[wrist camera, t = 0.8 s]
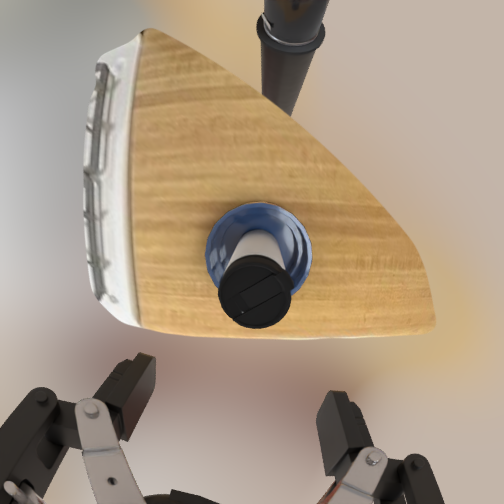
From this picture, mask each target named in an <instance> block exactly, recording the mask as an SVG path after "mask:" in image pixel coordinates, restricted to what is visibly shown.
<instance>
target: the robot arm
mask: <svg viewBox="0 0 504 504" xmlns="http://www.w3.org/2000/svg"><path fill="white" fill-rule="evenodd" d="M328 3H329V0H264V15H263V13H262V18H263V19H264V30H265V32H266V34H267V35H268V36H269V37H270V38H271V39H272V40H274V41H275V42H277V43H279V44H282V45H286V46H294V47H296V46H304V45H307V44H309V43H311V42H313V41H314V40H315V39H316V37H317V35H318V33H319V28H320V25H321V23H322V20H323V17H324V14H325V11H326V8H327V6H328ZM155 374H156V358H155V357H153V356H150V355H147V354H144V353H141V352H140V353H138V354H137V356H136V357H135V359H134V360H133V361H131V360H128V359H126V360H124V361H122V362H120V363H118V365H117V366H116V367H115V369H114V370H113V372H111V374H110V375H109V377H108V378H107V379H106V380H105V381H104V383H103V384H102V385H101V387H100V388H99V389H98V391H97V392H96V393H95V395H94V396H93V397H92V398H86V399H83V400H80V401H79V402H78V403H71V402H66V401H61V400H58V399H57V396H56V394H55V393H54V392H53V391H52V390H50V389H48V388H45V387H39V388H35V389H33V390H31V391H30V392H29V393H28V395H27V396H26V397H25V398H24V399H23V401H22V402H21V403H20V404H19V405H18V406H17V408H16V409H15V410H14V411H13V413H12V414H11V415H10V416H9V417H8V419H7V420H6V421H5V422H4V424H3V425H2V426H1V428H0V504H46V503H45V502H44V500H43V497H44V495H45V493H46V491H47V489H48V487H49V485H50V483H51V481H52V479H53V477H54V475H55V473H56V471H57V469H58V468H59V465H60V464H61V462H62V460H63V458H64V456H65V455H66V452H67V451H68V449H69V447H72V448H76V449H81V450H83V452H82V456H83V460H84V463H85V467H86V471H87V474H88V478H89V480H90V484H91V487H92V490H93V493H94V496H95V498H96V501H97V504H219V503H216V502H213V501H211V500H209V499H206V498H204V497H201V496H198V495H194V494H189V493H185V492H181V491H177V490H173V489H172V490H171V493H170V495H169V494H157V495H149V496H145V497H143V496H142V494H141V492H140V490H139V487H138V485H137V483H136V481H135V479H134V477H133V474H132V472H131V470H130V467H129V465H128V462H127V460H126V457H125V455H124V453H123V450H122V449H121V447H120V444H119V441H120V439H122V440H125V441H127V442H128V441H129V438H130V437H131V435H132V433H133V431H134V429H135V427H136V425H137V423H138V421H139V419H140V417H141V415H142V413H143V411H144V409H145V407H146V405H147V403H148V401H149V399H150V397H151V395H152V393H153V391H154V387H155V379H156V378H155V376H156V375H155ZM365 424H366V423H365V420H364V419H363V415H362V412H361V410H360V408H359V407H358V406H357V405H356V404H355V403H354V402H350V401H349V399H348V396H347V393H346V392H345V391H331V390H330V391H329V392H328V393H327V395H326V397H325V399H324V401H323V403H322V405H321V407H320V409H319V411H318V413H317V418H316V425H317V430H318V436H319V441H320V446H321V452H322V458H323V463H324V469H325V475H326V476H335V481H334V482H333V483H332V485H331V486H330V487H329V489H328V490H327V492H326V493H325V494H324V495H323V497H322V498H321V499H320V500H319V502H318V503H317V504H372V503H373V501H374V504H406V502H407V504H445V503H444V500H443V498H442V495H441V492H440V490H439V487H438V484H437V482H436V479H435V477H434V474H433V472H432V469H431V467H430V464H429V462H428V460H427V459H426V458H425V457H424V456H422V455H420V454H410V455H408V456H407V457H406V458H405V459H404V460H395V459H390V458H387V456H386V454H385V453H384V452H383V451H382V450H381V449H378V448H376V447H374V445H373V442H372V439H371V436H370V434H369V431H368V428H367V426H366V425H365ZM404 494H405V497H404ZM405 498H406V501H405Z"/></svg>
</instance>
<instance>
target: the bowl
mask: <svg viewBox="0 0 504 504" xmlns="http://www.w3.org/2000/svg"><path fill="white" fill-rule="evenodd" d="M254 229H261V230H265V231H268V232H269V233H271V234H272V235H273V236H274V237H275V238H276V240H277V242H278V245H279V249H280V252H281V256H282V259H283V263H284V266H285V270H286V271H287V272H288V274H289V275H290V277H291V278H292V280H293V283H294V289H292V290H291V296H292V295H293V294H294V293H295V292H297V291H298V290H299V289H300V288H301V286H302V284H303V283H304V281H305V280H306V278H307V277H308V275H309V271H310V267H311V263H312V247H311V241H310V239H309V237H308V234H307V232H306V230H305V228H304V226H303V225H302V224H301V223H300V222H299V221H298V219H297V218H296V217H295V216H294V215H293V214H292V213H290V212H289V211H287V210H285V209H284V208H282V207H280V206H278V205H277V204H273V203H268V202H263V201H258V202H249V203H245V204H243V205H240V206H238V207H236V208H234V209H232V210H230V211H228V212H227V213H226V214H225V215H224V216H223V217H222V218H221V219H220V220H219V221H217V222H216V224H215V225H214V227H213V229H212V231H211V233H210V235H209V237H208V239H207V245H206V251H205V259H206V265H207V270H208V273H209V275H210V277H211V278H212V280H213V282H214V284H215V286H216V287H217V288H219V285H220V282H221V279H222V277H223V274H224V272H225V270H226V267H227V265H228V263H229V261H230V259H231V257H232V255H233V253H234V251H235V249H236V247H237V245H238V243H239V241H240V239H241V237H242V236H243V235H244V234H245V233H247V232H249V231H251V230H254Z"/></svg>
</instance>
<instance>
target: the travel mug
mask: <svg viewBox="0 0 504 504" xmlns="http://www.w3.org/2000/svg"><path fill="white" fill-rule="evenodd" d="M292 289H294V283H293V280H292V278H291V277H290V275H289V274H288V272H287V271H286V270H285V266H284V263H283V259H282V256H281V252H280V249H279V245H278V242H277V240H276V238H275V237H274V236H273V235H272V234H271V233H269V232H268V231H265V230H261V229H254V230H251V231H249V232H247V233H245V234H244V235H243V236H242V237H241V239H240V241H239V243H238V245H237V247H236V249H235V251H234V253H233V255H232V257H231V259H230V261H229V263H228V265H227V267H226V270H225V272H224V274H223V277H222V279H221V282H220V285H219V288H218V297H219V300H220V303H221V307H222V308H223V310H224V312H225V313H226V314H227V315H228V316H229V317H230V318H232V319H233V321H235V322H236V323H238V324H239V325H241V326H244V327H246V328H252V329H261V328H266V327H269V326H272V325H274V324H276V323H277V322H279V321H280V320H281V319H282V318H283V317H284V316H285V315H286V313H287V312H288V310H289V307H290V304H291V290H292Z"/></svg>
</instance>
